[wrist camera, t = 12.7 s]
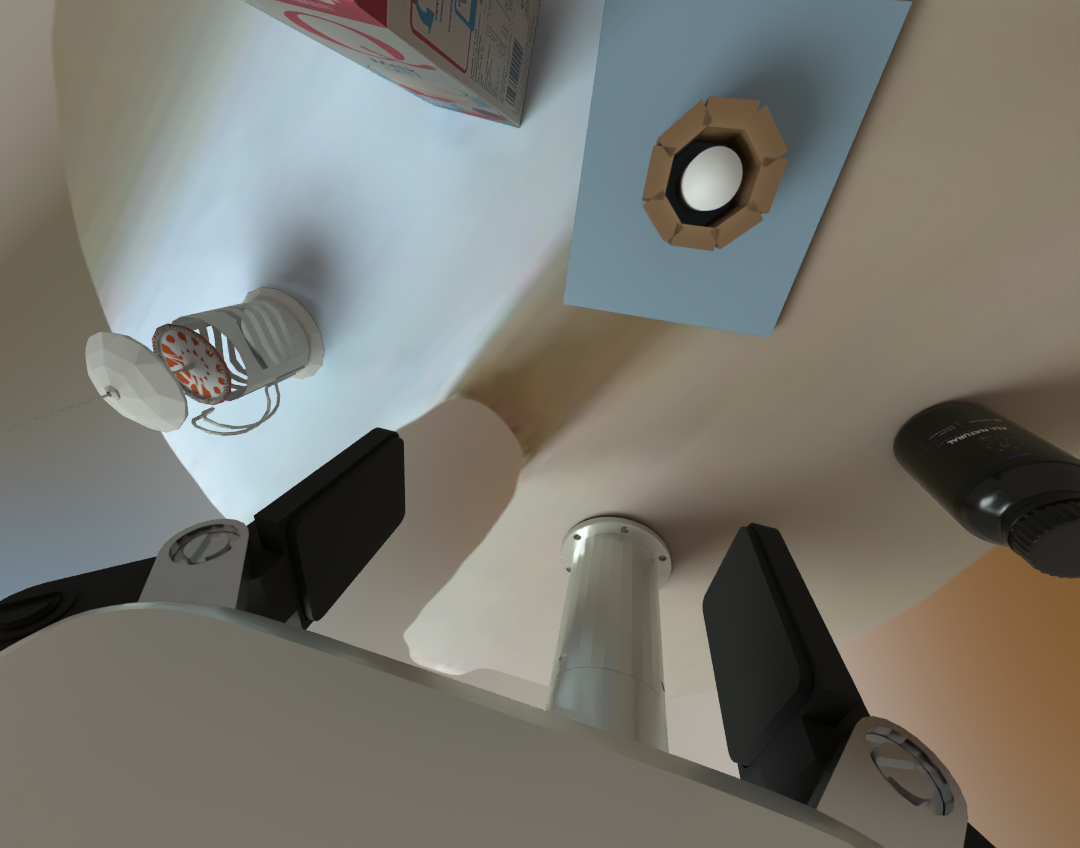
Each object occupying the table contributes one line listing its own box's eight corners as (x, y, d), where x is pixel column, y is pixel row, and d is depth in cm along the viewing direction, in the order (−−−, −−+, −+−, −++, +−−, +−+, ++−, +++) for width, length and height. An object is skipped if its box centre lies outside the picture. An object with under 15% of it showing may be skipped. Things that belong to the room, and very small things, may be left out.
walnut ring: (734, 250, 27) (752, 256, 22) (633, 236, 28) (633, 240, 23) (776, 125, 23) (807, 104, 19) (659, 114, 24) (665, 92, 20)
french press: (275, 268, 37) (-230, 341, 15) (352, 371, 40) (35, 546, 19) (223, 314, 41) (-236, 424, 19) (298, 404, 44) (-16, 580, 23)
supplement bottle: (942, 385, 29) (1111, 477, 19) (1020, 424, 29) (1230, 537, 19) (868, 450, 33) (975, 558, 22) (937, 485, 33) (1076, 608, 22)
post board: (764, 332, 30) (793, 358, 24) (566, 300, 32) (551, 317, 27) (895, 14, 21) (989, -59, 15) (608, -1, 23) (600, -70, 18)
